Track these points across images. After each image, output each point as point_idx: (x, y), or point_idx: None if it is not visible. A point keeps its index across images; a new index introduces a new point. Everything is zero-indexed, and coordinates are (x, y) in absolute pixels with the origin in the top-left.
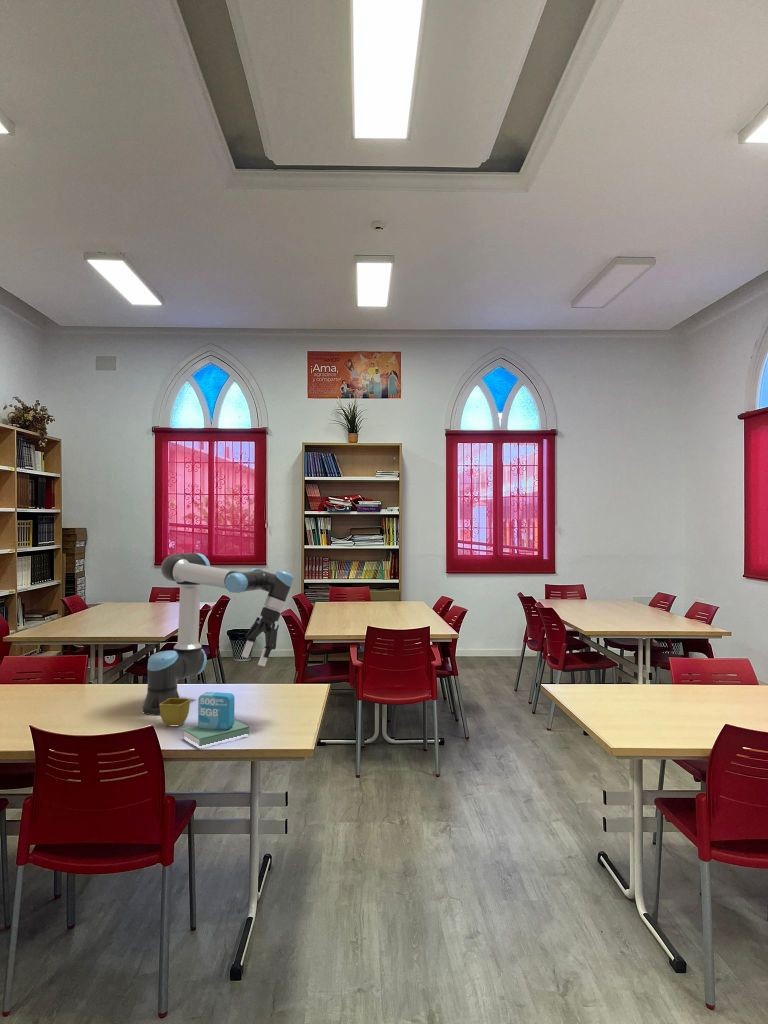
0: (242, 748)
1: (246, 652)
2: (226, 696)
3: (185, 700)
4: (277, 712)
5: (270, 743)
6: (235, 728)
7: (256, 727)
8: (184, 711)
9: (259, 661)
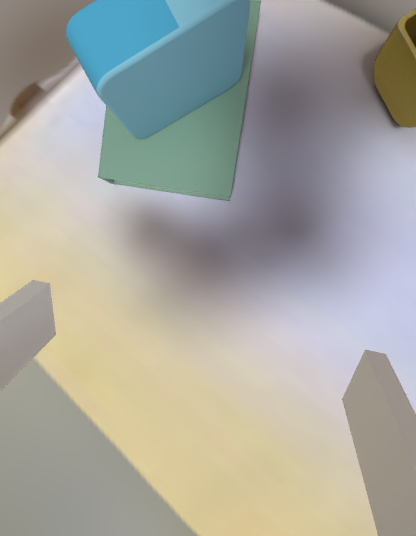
0: (43, 105)
1: (368, 415)
2: (72, 17)
3: None
4: (235, 400)
5: (18, 188)
6: (118, 133)
7: (165, 255)
8: (397, 84)
9: (20, 296)
